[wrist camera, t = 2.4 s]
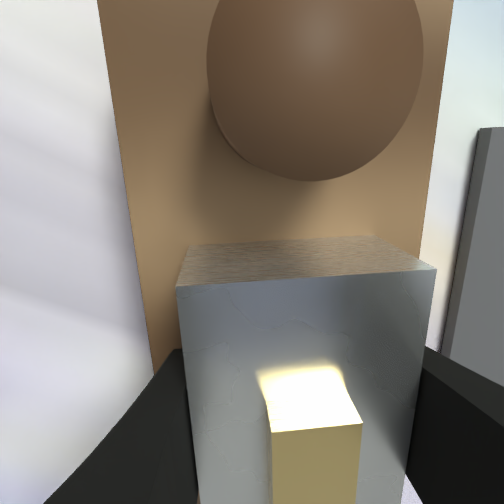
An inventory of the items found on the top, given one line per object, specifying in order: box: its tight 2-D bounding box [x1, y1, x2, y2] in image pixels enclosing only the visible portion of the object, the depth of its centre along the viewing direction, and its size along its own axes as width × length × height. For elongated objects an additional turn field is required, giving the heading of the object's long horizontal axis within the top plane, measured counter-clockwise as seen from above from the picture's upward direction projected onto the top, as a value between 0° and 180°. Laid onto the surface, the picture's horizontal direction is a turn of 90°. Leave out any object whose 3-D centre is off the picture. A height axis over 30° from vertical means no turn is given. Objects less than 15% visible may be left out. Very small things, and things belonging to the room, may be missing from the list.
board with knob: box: [97, 0, 454, 504], centre depth 9 cm, size 17×7×6 cm, turn 2°
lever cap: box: [175, 235, 437, 504], centre depth 7 cm, size 7×4×3 cm, turn 2°
